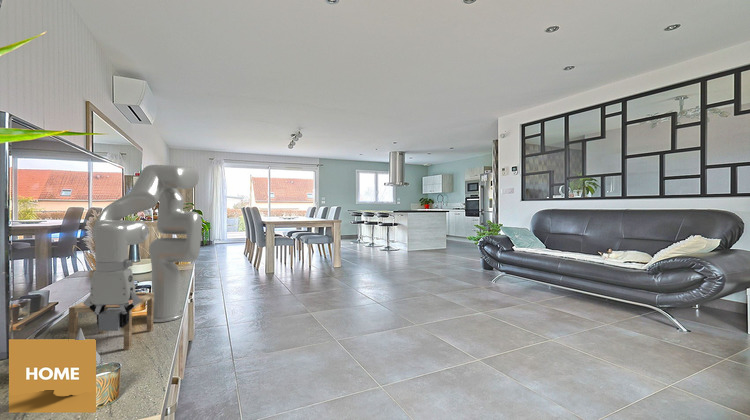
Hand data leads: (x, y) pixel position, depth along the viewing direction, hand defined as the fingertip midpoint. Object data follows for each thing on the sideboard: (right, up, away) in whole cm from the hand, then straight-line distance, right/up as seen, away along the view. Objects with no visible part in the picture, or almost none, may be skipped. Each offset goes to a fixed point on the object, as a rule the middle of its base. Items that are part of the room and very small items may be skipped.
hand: (113, 325), depth 102 cm
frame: (-9, -9, +12) cm, 17 cm away
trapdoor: (-8, +4, +12) cm, 15 cm away
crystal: (+4, -10, -16) cm, 19 cm away
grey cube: (0, -1, 0) cm, 1 cm away
